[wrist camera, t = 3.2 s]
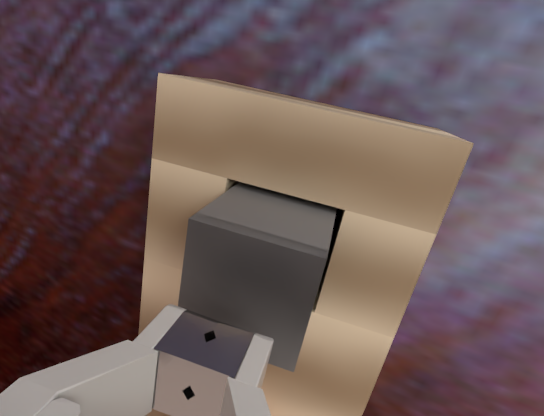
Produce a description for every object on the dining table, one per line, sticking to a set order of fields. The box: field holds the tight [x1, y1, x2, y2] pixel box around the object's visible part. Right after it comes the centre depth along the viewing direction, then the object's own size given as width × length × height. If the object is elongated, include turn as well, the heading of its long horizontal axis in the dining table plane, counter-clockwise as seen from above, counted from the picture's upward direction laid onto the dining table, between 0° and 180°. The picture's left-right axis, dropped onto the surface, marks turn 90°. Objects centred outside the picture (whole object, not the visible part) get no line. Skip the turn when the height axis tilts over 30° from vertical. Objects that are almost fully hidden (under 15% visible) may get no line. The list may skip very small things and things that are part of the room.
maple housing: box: [139, 73, 473, 416], centre depth 20 cm, size 24×12×6 cm, turn 169°
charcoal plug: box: [178, 182, 337, 372], centre depth 14 cm, size 4×4×6 cm
